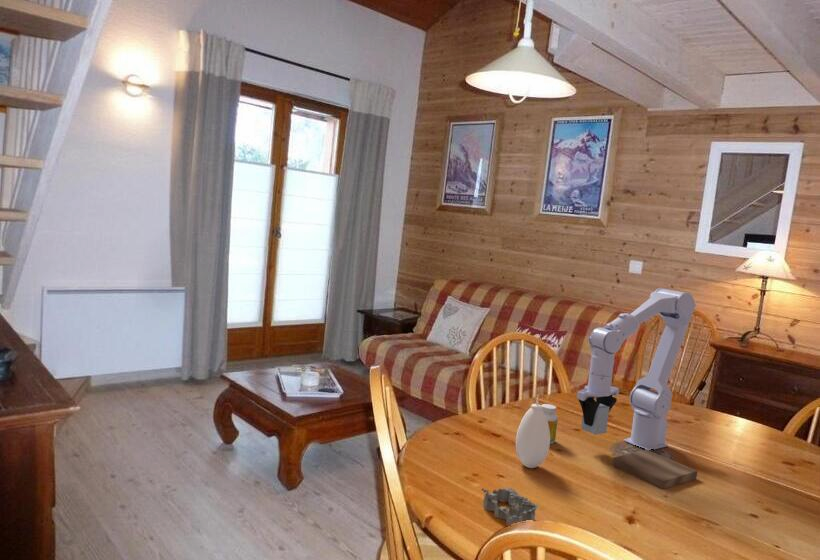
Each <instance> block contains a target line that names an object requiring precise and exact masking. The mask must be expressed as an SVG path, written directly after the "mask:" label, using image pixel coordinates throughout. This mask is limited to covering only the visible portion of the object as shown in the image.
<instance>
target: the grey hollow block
mask: <svg viewBox="0 0 820 560" xmlns="http://www.w3.org/2000/svg"><path fill="white" fill-rule="evenodd" d="M481 491H483V493H485V494H484V497H483V509H484V510H485V511H490V512H491V511H492V512H493V511H494V512H493V513H494V517H495V516H496V518H497V517H498V518H497V519H503V520H506V523H505V524H506V525H507V526H509V525H511V524H513V523H517V522H521V521H526V520H534V521H535V519H536V517H535V516H536V511H537V509H538V508H539V507H540V506H541V505H540V504H535V502H533V503H532V502H531V501H532V500H529V499H528V497H524V496H523V495H521V494H519V493H518V492H517V491H516V490H515V489H513V488H511V487H505V488H499V489H498V490H497V489H493V490H492V492H491V493H490V492H489V489H485V488H484V487H483V488H481ZM498 501H499V502H504V503H506V502H507V503H508V507H505V506H498V504H499V502H498ZM520 513H521V514H520ZM509 527H510V526H509Z"/></svg>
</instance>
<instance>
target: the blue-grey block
mask: <svg viewBox="0 0 820 560" xmlns="http://www.w3.org/2000/svg"><path fill="white" fill-rule="evenodd" d="M609 408H610V407H608V406H606V405H603V404H599V406H598V408H597V410H596V413H595V417H594V422H593V425H592V426H589V425H586V424H584V417H583V416H582V417H581V418H582V419H581V424H580V425H581V427H580V429H581V430H583V431H585V432H588V433H590V434H592V435H595V436H596V435H597V436H598V435H602V434H606V433H607V432H608V431H607V430H608V423H609V417H610V416H609V414H610V412H609Z"/></svg>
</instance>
